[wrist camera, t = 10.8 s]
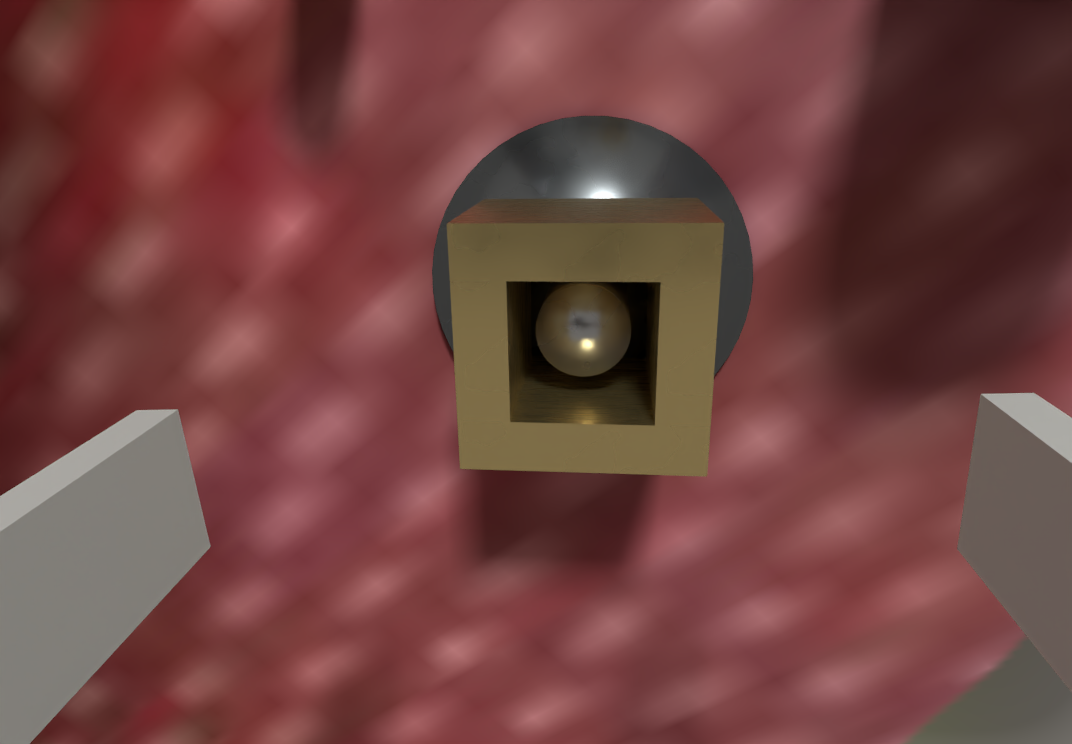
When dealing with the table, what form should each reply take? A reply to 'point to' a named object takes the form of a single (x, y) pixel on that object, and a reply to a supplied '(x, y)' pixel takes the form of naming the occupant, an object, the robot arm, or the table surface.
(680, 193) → the hub
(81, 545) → the robot arm
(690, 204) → the collar
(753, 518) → the table surface
